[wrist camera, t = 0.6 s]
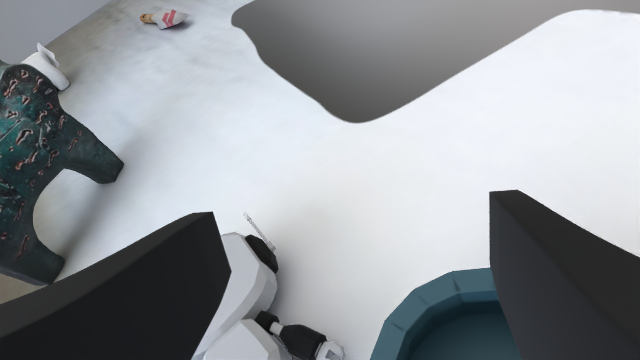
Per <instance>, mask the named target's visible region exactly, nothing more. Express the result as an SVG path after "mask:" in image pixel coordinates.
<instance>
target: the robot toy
mask: <svg viewBox="0 0 640 360" xmlns="http://www.w3.org/2000/svg"><path fill="white" fill-rule="evenodd" d="M244 216H245V218H246V219H247V220H248V221H249V222H250V223H251V224H252V226H253V227H254V228H255V229H256V231H257V232H258V233H259V234H260V236H261V237H262V238H263V239H264V241H265V242H266V243H265V242H264V241H263V240H262V239H260V238H258V237H255V236H253V235H248V236H246V237H245V236H243V235H240V234H238V233H235V232H233V233H228V234H223V235H221V239H222V242H223V245H224V249H225V252H226V255H227V258H228V261H229V264H230V267H231V271H232V273H231V276H230V279H229V282H228V285H227V288H226V291H225V293H224V296H223V299H222V301H221V304H220V306H219V308H218V310H217V312H216V314H215V316H214V318H213V320H212V321H211V323H210V325H209V327H208V329H207V331H206V333H205V335H204V337H203V338H202V340H201V342H200V344H199V346H198V348H197V350H196V352H195V353H194V355H193V357H192V359H191V360H292V356H291V355H290V354H289V353H288V351H289V352H290V353H291V354H293V355H295V356H297V357H298V358H300V359H302V360H331V357H332V355H333V353H334V354H335V355H337V356H339V357H340V358H342V359H344V356H345V352H344V347H343V346H341V345H340V344H339V343H338V342H337V341H327V339H326V336H325V335H323V334H321V333H319V332H317V331H314V330H312V329H310V328H308V327H306V326H304V325H299V324H297V325H288V326H283V325H281V324H279V319H278V317H277V316H275V315H273V314H271V313H269V312H267V310H268V309H269V307H270V305H271V304H272V302H273V300H274V297H275V294H276V291H277V289H278V287H277V281H276V276H275V274H276V272H277V271H278V265H277V260H276V256H275V255H274V253H273V252H272V251H273V250H275V249H276V248H275V247H274V246H273V245H272V243H271V242H270V241H269V242H268V240H267V239H266V238H265V237H264V235H263V234H262V233H261V232H260V230H259V229H258V228H257V227H256V225H255V224H254V223H253V222H252V220H251V218H250V217H249V216H248V215H247V214H246V213H244ZM273 334H275V335H277V336H279V337H281V339H282V341H283V343H284V345H285V346H286V348H287V349H288V351H287V350H286V349H285V348H284V347H283V345H282V344H281V343H280V342H279V341H278V340H277V339H276V338H275V337H274V336H273Z"/></svg>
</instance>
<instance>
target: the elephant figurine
mask: <svg viewBox="0 0 640 360" xmlns="http://www.w3.org/2000/svg"><path fill="white" fill-rule="evenodd" d="M21 63H25V64H28V65H31V66H33V67H35V68H36V69H38V70H39V71H40V72H42V73H43V74H44V75H46V76H47V77H48V78H49V79H50V80H51V81H52V83H53V84H54V85H55V86H56V87H57V88H58V89H59V90H64V89H65V88H67V87H68V86H69V82H68V80H67V79H66V77H65V76H64V75H63V74H62V73H61V72H60V71H59V70H58V69H57V68H55V67H59V63H58V62H57V61H56V60H55V58H54V54H53V53H52V52H50V51H49V50H47V49H46V48H44V47H43V46H41V45H40V44H39V43H38V52H36V53H34V54H32V55H31V56H29V57H28V58H27V59H25V60H24V61H22V62H21ZM52 64H53V65H55V67H53V66H52Z"/></svg>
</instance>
